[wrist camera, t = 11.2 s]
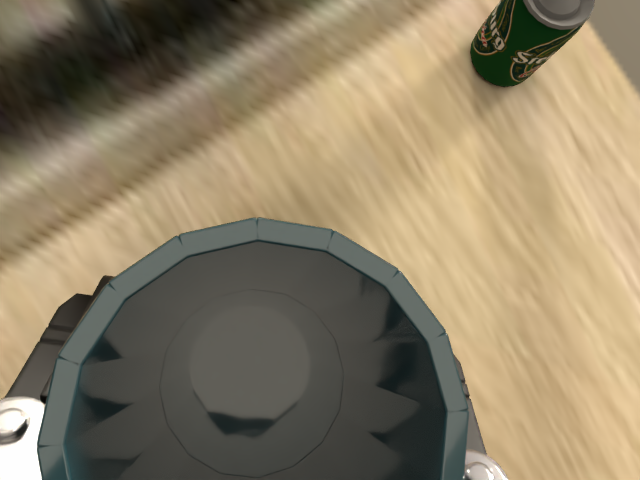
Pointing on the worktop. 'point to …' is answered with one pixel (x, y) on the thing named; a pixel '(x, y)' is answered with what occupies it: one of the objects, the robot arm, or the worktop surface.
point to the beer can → (525, 37)
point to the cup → (256, 367)
